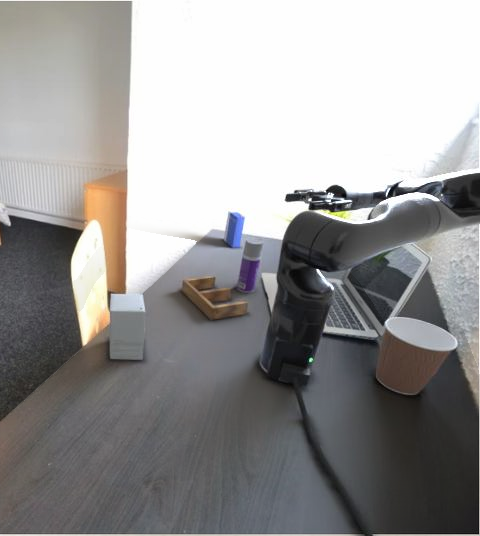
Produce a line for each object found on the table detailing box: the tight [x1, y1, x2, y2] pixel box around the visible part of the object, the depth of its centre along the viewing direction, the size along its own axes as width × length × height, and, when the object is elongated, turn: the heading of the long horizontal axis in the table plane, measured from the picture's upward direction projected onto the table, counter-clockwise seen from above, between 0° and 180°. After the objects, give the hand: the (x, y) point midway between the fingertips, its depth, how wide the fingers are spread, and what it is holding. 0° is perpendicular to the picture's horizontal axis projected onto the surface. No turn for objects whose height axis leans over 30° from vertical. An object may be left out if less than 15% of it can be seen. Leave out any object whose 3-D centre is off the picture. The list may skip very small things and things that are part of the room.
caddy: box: [181, 275, 249, 321], centre depth 102 cm, size 10×16×4 cm, turn 13°
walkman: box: [223, 210, 246, 249], centre depth 137 cm, size 8×3×12 cm, turn 3°
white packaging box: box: [109, 293, 146, 361], centre depth 82 cm, size 7×7×13 cm
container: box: [236, 237, 264, 294], centre depth 105 cm, size 5×5×15 cm
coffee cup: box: [375, 316, 459, 396], centre depth 71 cm, size 10×10×12 cm
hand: (297, 202), depth 100 cm, fingers open, 8 cm apart
